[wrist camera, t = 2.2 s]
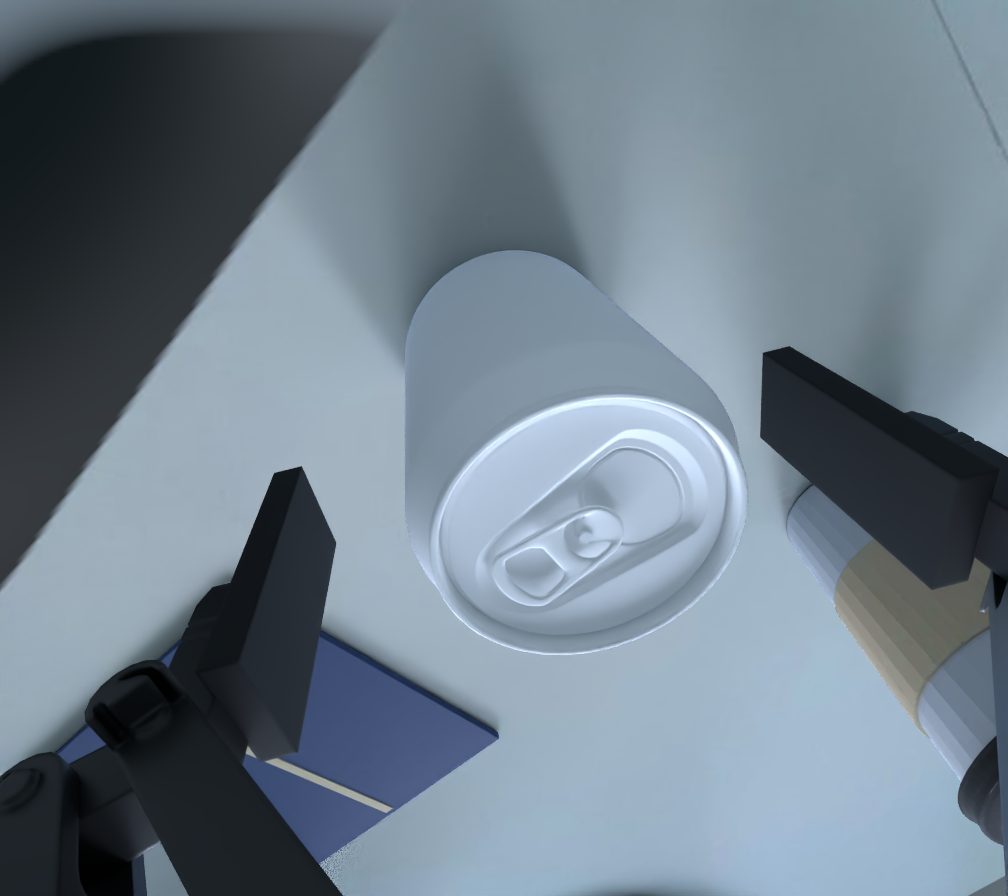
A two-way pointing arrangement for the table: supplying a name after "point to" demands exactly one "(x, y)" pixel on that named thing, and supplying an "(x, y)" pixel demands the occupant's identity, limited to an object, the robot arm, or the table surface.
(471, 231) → the table surface
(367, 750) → the napkin
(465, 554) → the beverage can
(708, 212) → the table surface
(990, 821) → the coffee cup
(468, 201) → the table surface
